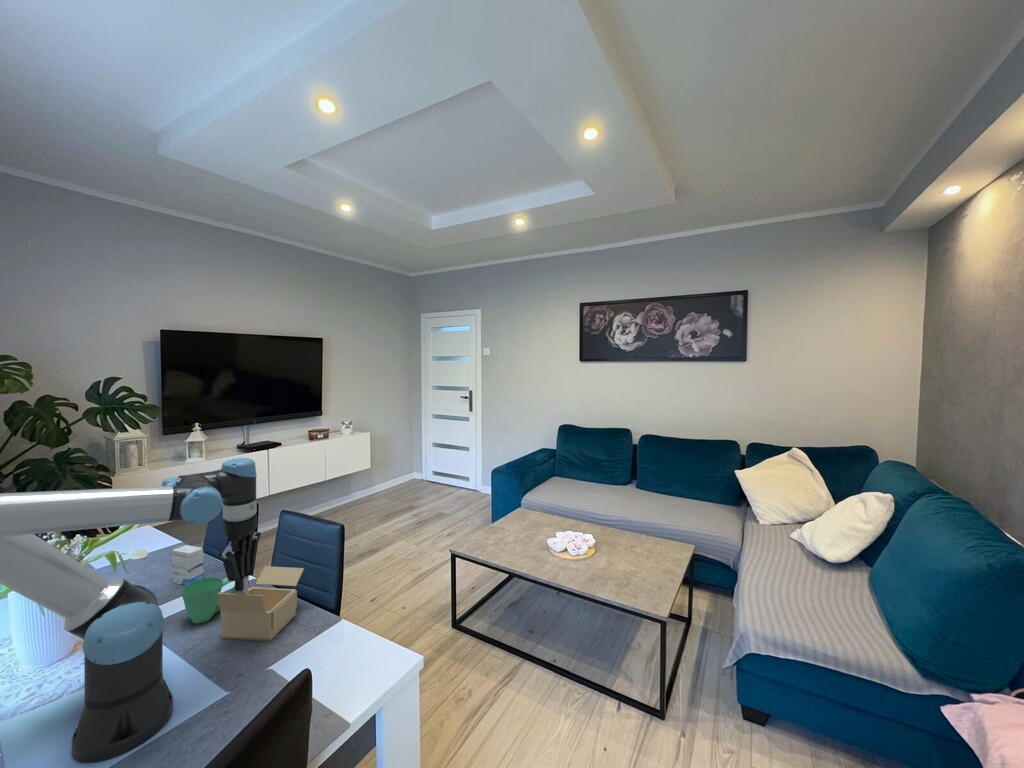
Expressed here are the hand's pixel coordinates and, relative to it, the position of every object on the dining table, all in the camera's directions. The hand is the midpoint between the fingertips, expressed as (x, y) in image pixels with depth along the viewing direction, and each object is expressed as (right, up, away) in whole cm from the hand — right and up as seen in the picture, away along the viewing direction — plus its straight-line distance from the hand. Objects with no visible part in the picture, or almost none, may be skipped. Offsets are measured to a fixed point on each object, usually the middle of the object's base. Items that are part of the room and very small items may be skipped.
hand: (242, 600), depth 110 cm
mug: (-17, -11, +12) cm, 24 cm away
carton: (0, -12, +7) cm, 14 cm away
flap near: (0, -3, 0) cm, 3 cm away
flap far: (+1, -3, +14) cm, 14 cm away
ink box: (-40, -10, +30) cm, 51 cm away
